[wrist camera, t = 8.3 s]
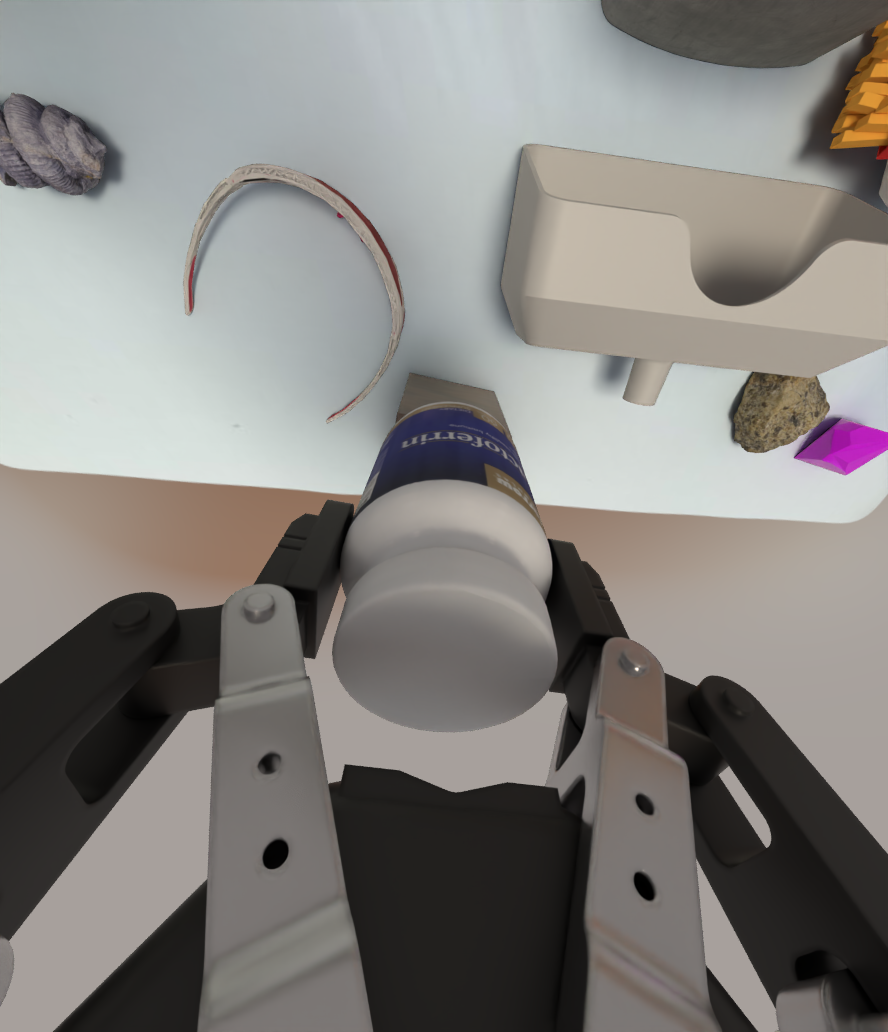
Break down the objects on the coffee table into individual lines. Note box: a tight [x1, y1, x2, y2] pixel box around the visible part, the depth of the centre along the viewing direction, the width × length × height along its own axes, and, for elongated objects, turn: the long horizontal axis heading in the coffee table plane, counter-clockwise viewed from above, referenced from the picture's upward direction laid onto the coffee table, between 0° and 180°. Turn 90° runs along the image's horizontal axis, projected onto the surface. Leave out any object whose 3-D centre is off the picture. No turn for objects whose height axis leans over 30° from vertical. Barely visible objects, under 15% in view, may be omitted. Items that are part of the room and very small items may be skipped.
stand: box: [396, 373, 512, 439], centre depth 36 cm, size 9×9×12 cm
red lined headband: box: [183, 164, 405, 423], centre depth 33 cm, size 17×17×5 cm
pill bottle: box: [332, 402, 558, 732], centre depth 12 cm, size 6×6×10 cm
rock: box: [733, 372, 830, 453], centre depth 37 cm, size 7×8×4 cm
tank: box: [501, 144, 888, 406], centre depth 29 cm, size 25×16×12 cm, turn 84°
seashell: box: [0, 93, 107, 195], centre depth 27 cm, size 5×5×10 cm
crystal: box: [795, 419, 888, 475], centre depth 40 cm, size 5×5×5 cm
